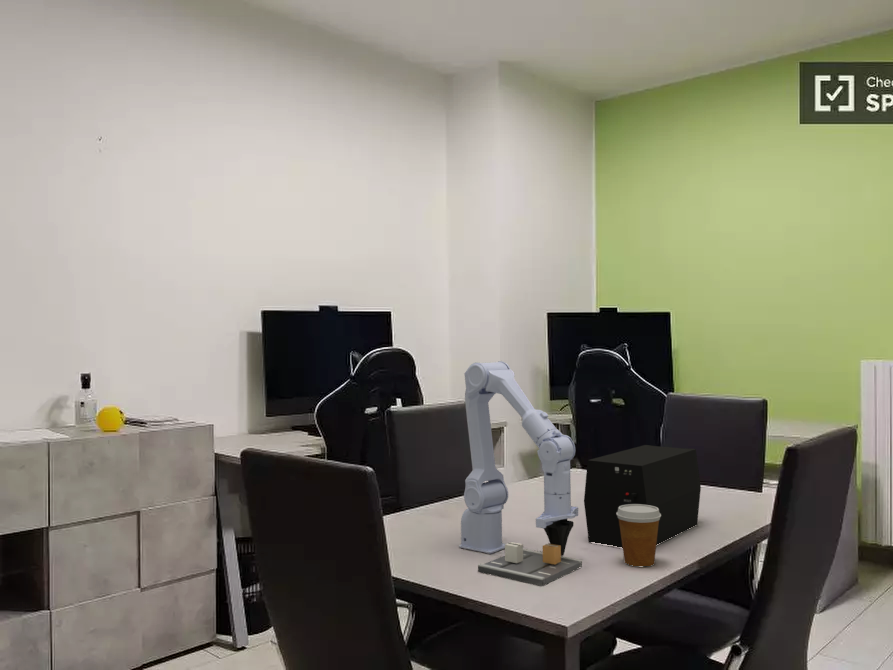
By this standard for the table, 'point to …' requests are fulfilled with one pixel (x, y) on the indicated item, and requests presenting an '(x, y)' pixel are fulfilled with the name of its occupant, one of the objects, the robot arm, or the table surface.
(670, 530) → the uninterruptible power supply
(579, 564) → the fader board
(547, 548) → the block
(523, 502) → the table surface
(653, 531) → the disposable coffee cup
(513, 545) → the fader
